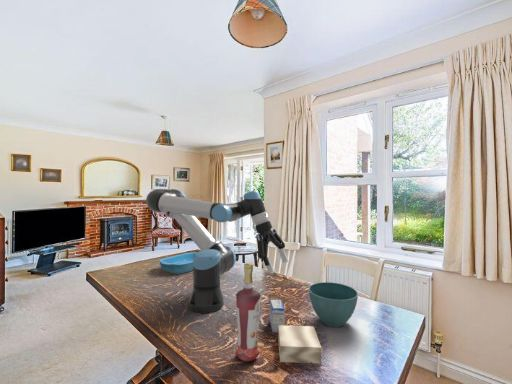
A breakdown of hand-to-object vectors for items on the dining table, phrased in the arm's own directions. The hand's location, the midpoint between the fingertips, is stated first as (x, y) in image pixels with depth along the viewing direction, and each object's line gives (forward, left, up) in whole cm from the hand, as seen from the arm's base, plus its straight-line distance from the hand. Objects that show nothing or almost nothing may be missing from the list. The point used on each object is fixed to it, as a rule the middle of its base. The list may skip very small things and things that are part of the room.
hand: (278, 267), depth 116 cm
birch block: (+4, -35, -17) cm, 39 cm away
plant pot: (+20, -16, -17) cm, 30 cm away
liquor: (-12, -39, -17) cm, 44 cm away
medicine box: (-2, -21, -17) cm, 27 cm away
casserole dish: (-58, +53, -17) cm, 81 cm away
